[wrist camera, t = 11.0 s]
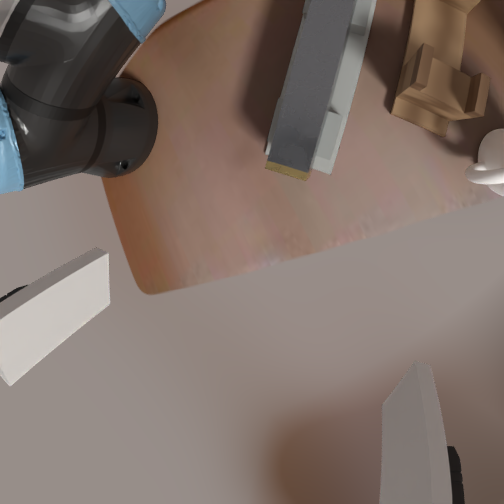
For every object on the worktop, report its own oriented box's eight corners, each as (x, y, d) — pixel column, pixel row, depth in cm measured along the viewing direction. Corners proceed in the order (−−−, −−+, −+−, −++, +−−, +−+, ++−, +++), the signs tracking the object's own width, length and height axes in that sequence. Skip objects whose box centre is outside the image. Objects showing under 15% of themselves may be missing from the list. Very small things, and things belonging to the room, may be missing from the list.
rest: (265, 154, 34) (258, 155, 31) (313, -19, 24) (310, -31, 21) (330, 174, 33) (329, 177, 30) (377, -3, 23) (379, -15, 20)
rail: (309, 176, 30) (305, 181, 27) (274, 165, 31) (265, 168, 28) (362, -23, 20) (363, -40, 16) (327, -31, 20) (324, -48, 17)
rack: (390, 114, 28) (410, 102, 19) (418, -34, 18) (434, -75, 9) (441, 136, 27) (478, 137, 18) (465, -13, 17) (492, -46, 8)
